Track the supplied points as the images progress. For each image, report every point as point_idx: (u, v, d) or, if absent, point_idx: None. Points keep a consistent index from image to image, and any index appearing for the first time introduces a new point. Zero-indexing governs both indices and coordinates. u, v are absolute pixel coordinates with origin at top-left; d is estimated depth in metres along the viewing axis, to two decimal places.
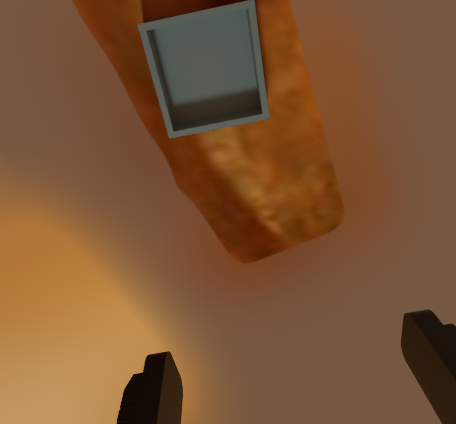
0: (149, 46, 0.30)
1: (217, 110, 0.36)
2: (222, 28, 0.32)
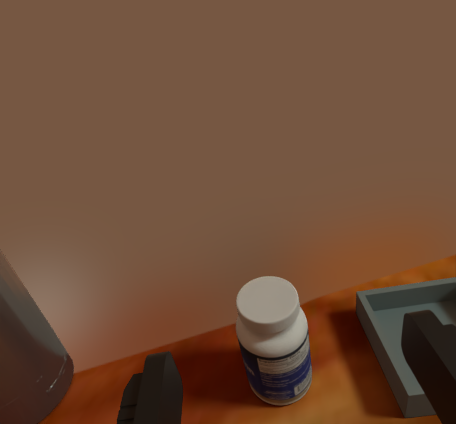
0: None
1: None
2: (386, 331, 0.31)
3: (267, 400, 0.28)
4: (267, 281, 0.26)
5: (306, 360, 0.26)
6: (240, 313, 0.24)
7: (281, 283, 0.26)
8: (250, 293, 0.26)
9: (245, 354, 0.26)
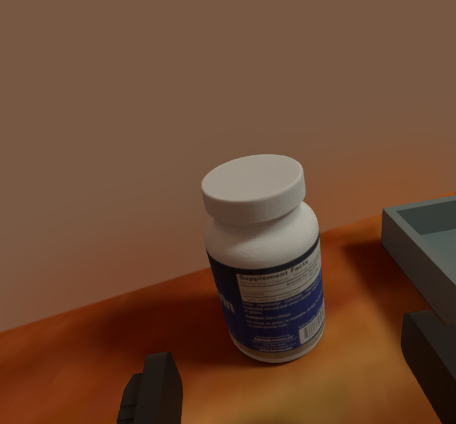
0: None
1: None
2: None
3: (257, 355, 0.18)
4: (252, 159, 0.17)
5: (317, 284, 0.16)
6: (206, 196, 0.14)
7: (274, 158, 0.16)
8: (224, 173, 0.16)
9: (218, 274, 0.16)
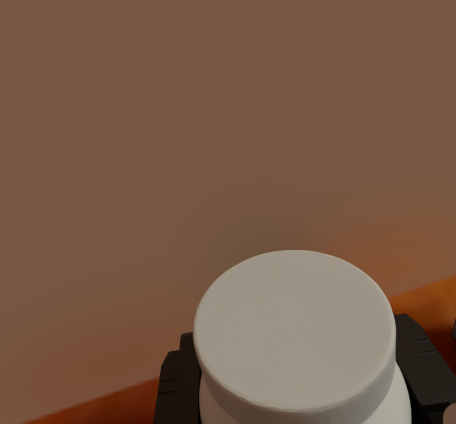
0: None
1: None
2: None
3: None
4: (285, 264, 0.09)
5: None
6: (202, 365, 0.07)
7: (327, 267, 0.09)
8: (237, 297, 0.09)
9: None
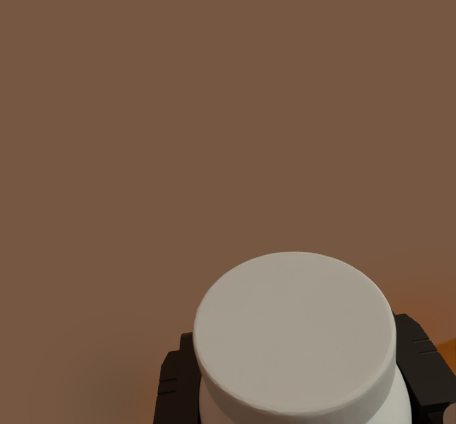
0: None
1: None
2: None
3: None
4: (285, 265, 0.09)
5: None
6: (202, 367, 0.07)
7: (327, 269, 0.09)
8: (237, 299, 0.09)
9: None
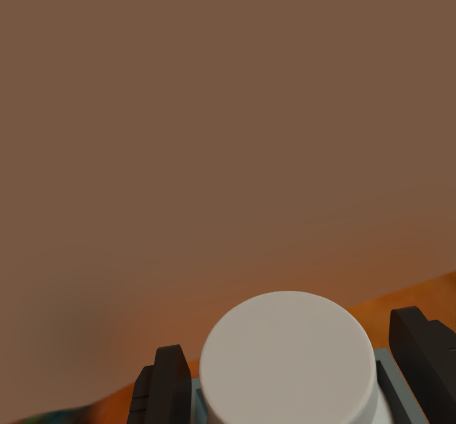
0: None
1: None
2: None
3: None
4: (280, 305, 0.10)
5: None
6: (207, 403, 0.08)
7: (317, 308, 0.10)
8: (237, 338, 0.10)
9: None
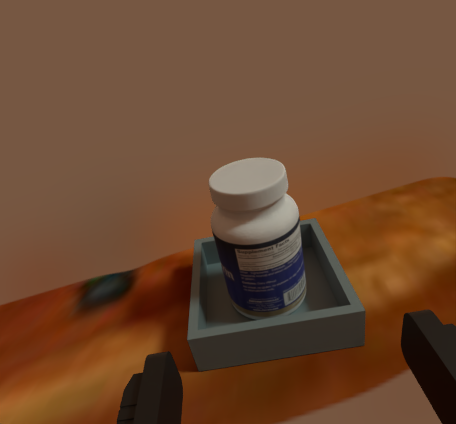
0: (217, 327, 0.20)
1: (318, 282, 0.25)
2: (220, 281, 0.27)
3: (251, 314, 0.22)
4: (248, 162, 0.21)
5: (298, 258, 0.21)
6: (212, 190, 0.19)
7: (265, 161, 0.21)
8: (226, 173, 0.21)
9: (221, 250, 0.21)
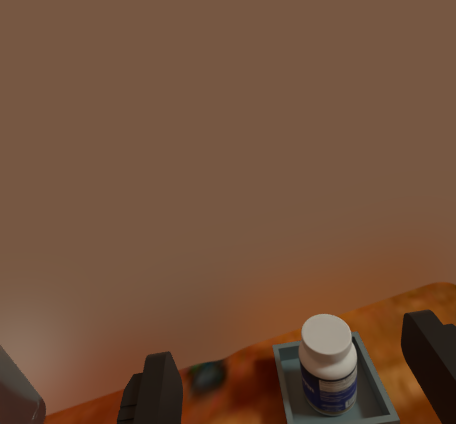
0: None
1: (363, 383, 0.37)
2: (293, 378, 0.39)
3: (322, 412, 0.35)
4: (324, 318, 0.34)
5: (355, 380, 0.33)
6: (306, 345, 0.32)
7: (335, 320, 0.33)
8: (312, 328, 0.33)
9: (308, 376, 0.33)
